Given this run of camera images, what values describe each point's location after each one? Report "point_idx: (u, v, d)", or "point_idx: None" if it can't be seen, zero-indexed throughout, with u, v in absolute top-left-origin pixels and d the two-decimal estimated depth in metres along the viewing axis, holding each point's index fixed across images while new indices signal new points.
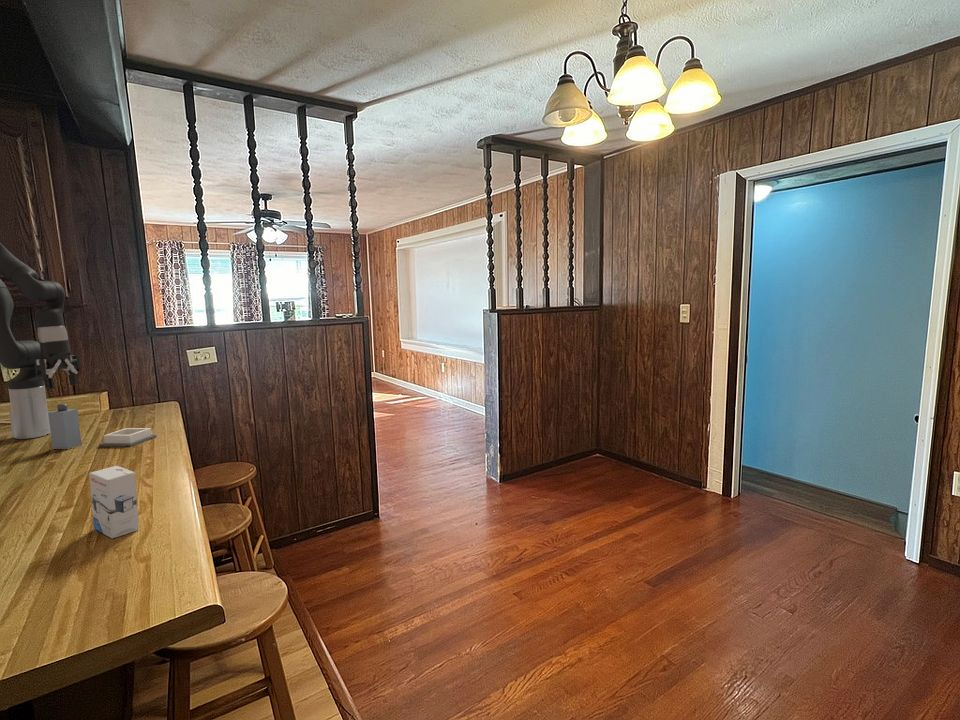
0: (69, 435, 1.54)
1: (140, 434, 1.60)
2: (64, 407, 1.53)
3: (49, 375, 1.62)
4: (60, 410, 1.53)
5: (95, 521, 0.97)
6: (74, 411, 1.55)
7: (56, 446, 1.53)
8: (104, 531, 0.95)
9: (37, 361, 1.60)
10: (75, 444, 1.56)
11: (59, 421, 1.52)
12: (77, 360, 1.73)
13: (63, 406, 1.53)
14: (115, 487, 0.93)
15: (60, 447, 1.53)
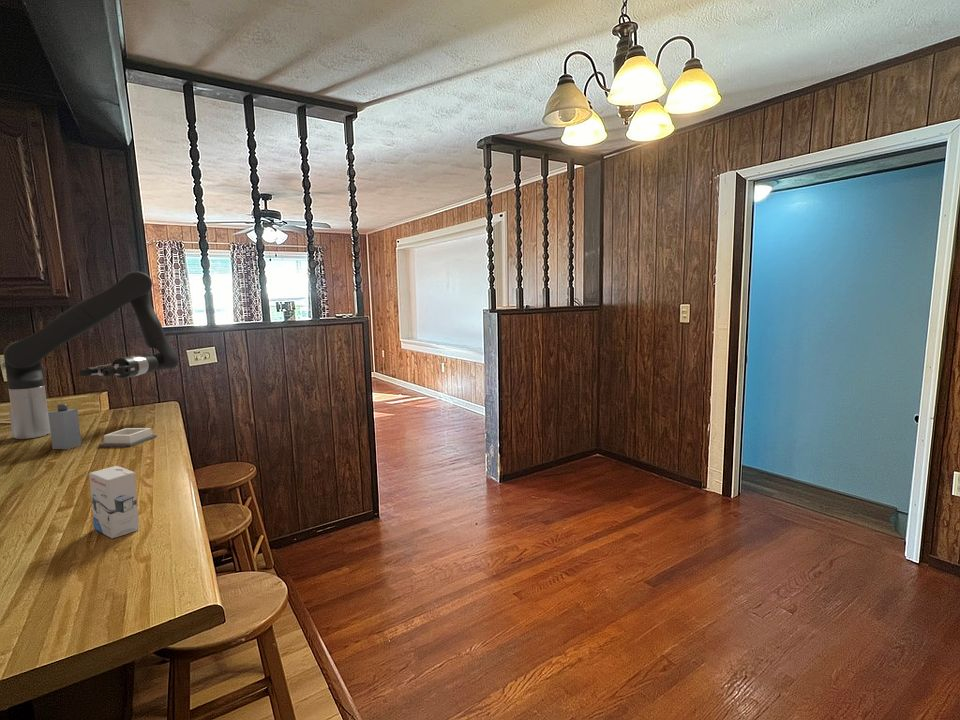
0: (69, 435, 1.54)
1: (140, 434, 1.60)
2: (64, 407, 1.53)
3: None
4: (60, 410, 1.53)
5: (95, 521, 0.97)
6: (74, 411, 1.55)
7: (56, 446, 1.53)
8: (104, 531, 0.95)
9: (134, 368, 1.74)
10: (75, 444, 1.56)
11: (59, 421, 1.52)
12: None
13: (63, 406, 1.53)
14: (115, 487, 0.93)
15: (60, 447, 1.53)
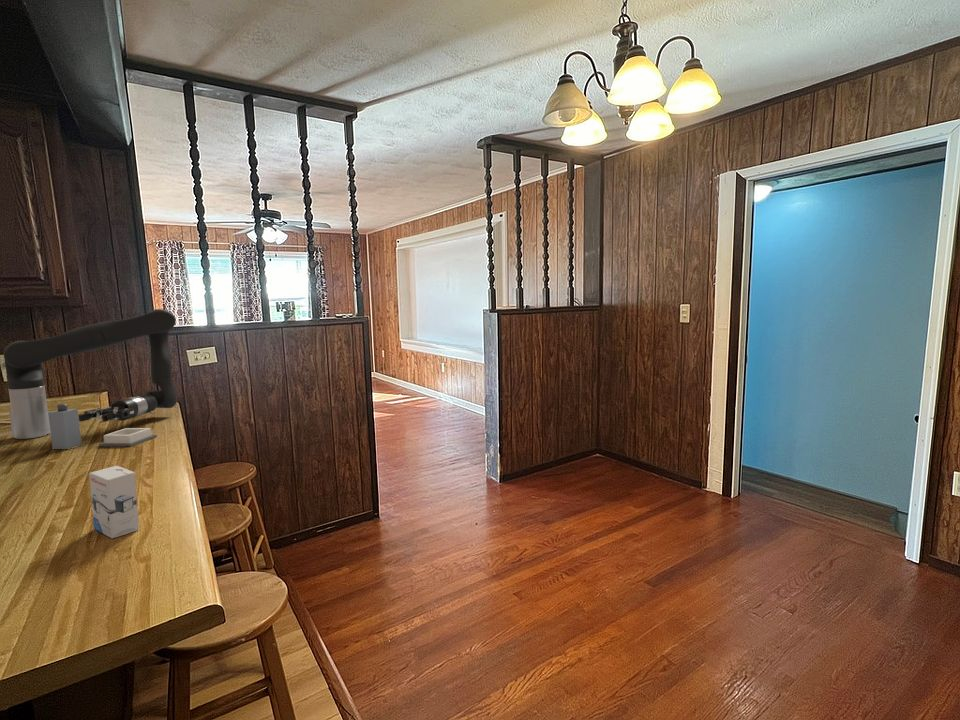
0: (69, 435, 1.54)
1: (140, 434, 1.60)
2: (64, 407, 1.53)
3: None
4: (60, 410, 1.53)
5: (95, 521, 0.97)
6: (74, 411, 1.55)
7: (56, 446, 1.53)
8: (104, 531, 0.95)
9: (133, 411, 1.73)
10: (75, 444, 1.56)
11: (59, 421, 1.52)
12: None
13: (63, 406, 1.53)
14: (115, 487, 0.93)
15: (60, 447, 1.53)
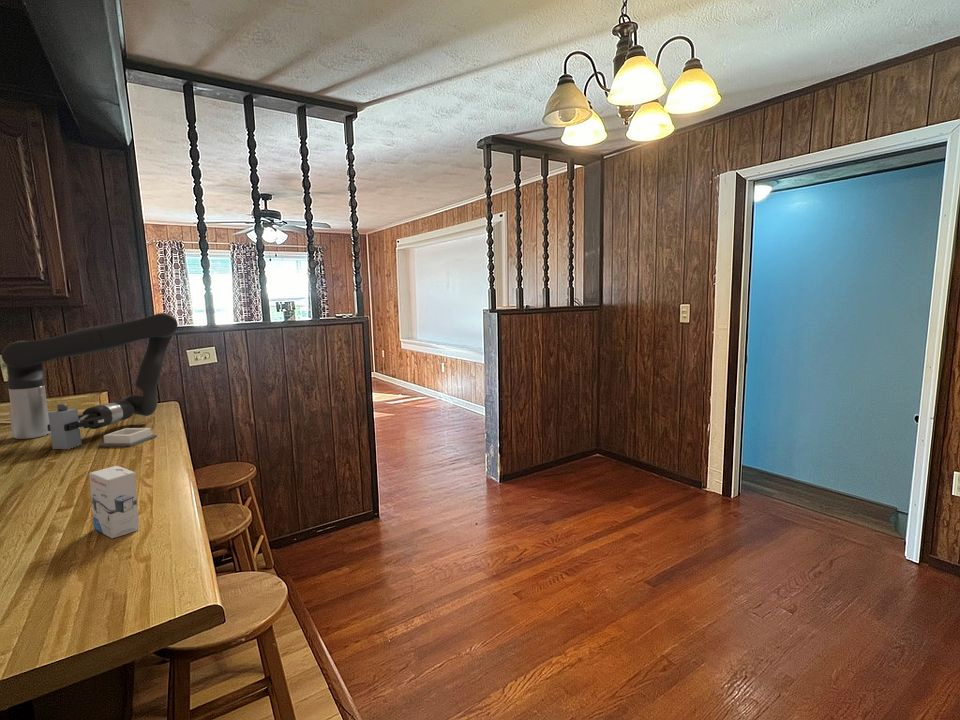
0: (69, 435, 1.54)
1: (140, 434, 1.60)
2: (64, 407, 1.53)
3: (81, 427, 1.57)
4: (60, 410, 1.53)
5: (95, 521, 0.97)
6: (74, 411, 1.55)
7: (56, 446, 1.53)
8: (104, 531, 0.95)
9: (102, 420, 1.61)
10: (75, 444, 1.56)
11: (59, 421, 1.52)
12: None
13: (63, 406, 1.53)
14: (115, 487, 0.93)
15: (60, 447, 1.53)
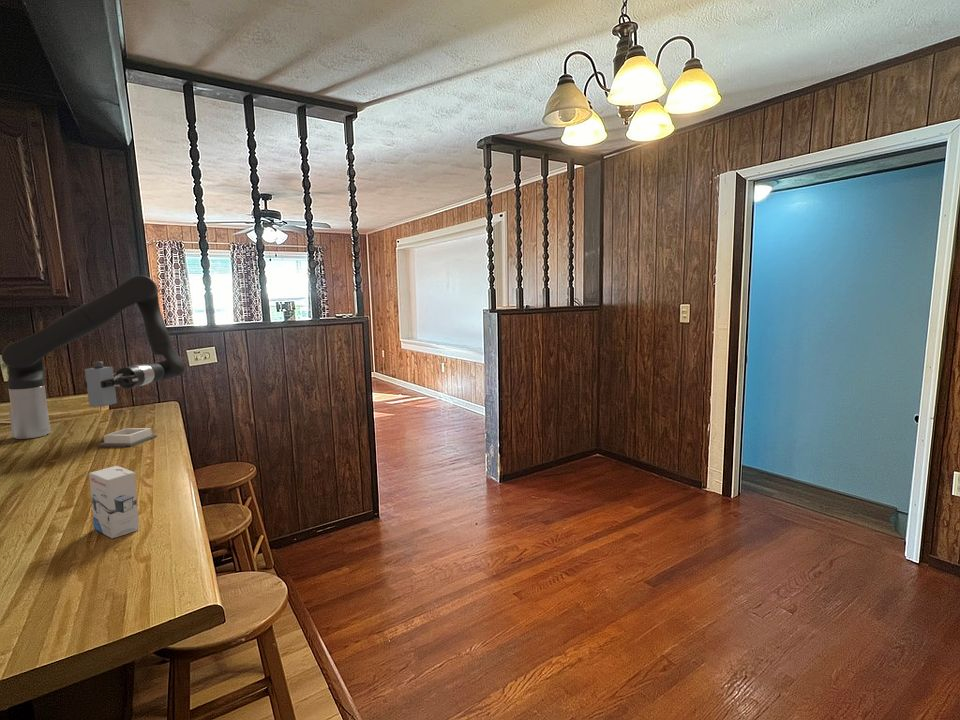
0: (106, 392, 1.56)
1: (140, 434, 1.60)
2: (100, 364, 1.56)
3: (116, 385, 1.59)
4: (96, 367, 1.55)
5: (95, 521, 0.97)
6: (110, 369, 1.58)
7: (93, 403, 1.55)
8: (104, 531, 0.95)
9: (136, 379, 1.63)
10: (111, 401, 1.58)
11: (96, 378, 1.54)
12: None
13: (99, 363, 1.55)
14: (115, 487, 0.93)
15: (97, 404, 1.55)
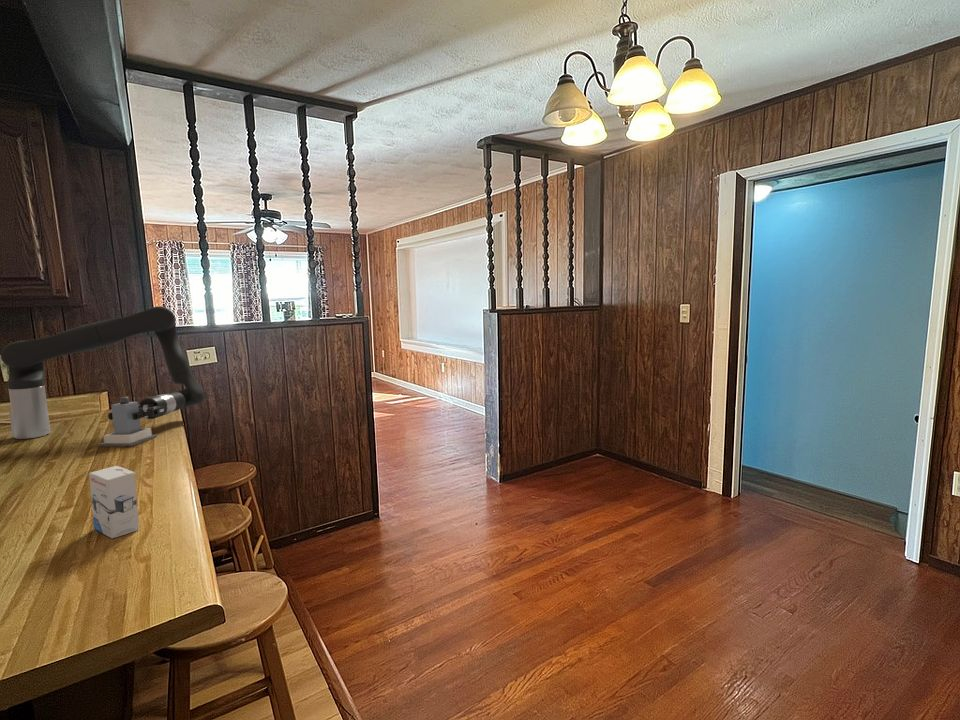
0: (131, 427, 1.59)
1: (140, 434, 1.60)
2: (126, 399, 1.59)
3: None
4: (122, 403, 1.58)
5: (95, 521, 0.97)
6: (135, 404, 1.61)
7: None
8: (104, 531, 0.95)
9: (162, 409, 1.67)
10: None
11: (122, 413, 1.57)
12: None
13: (125, 399, 1.59)
14: (115, 487, 0.93)
15: None
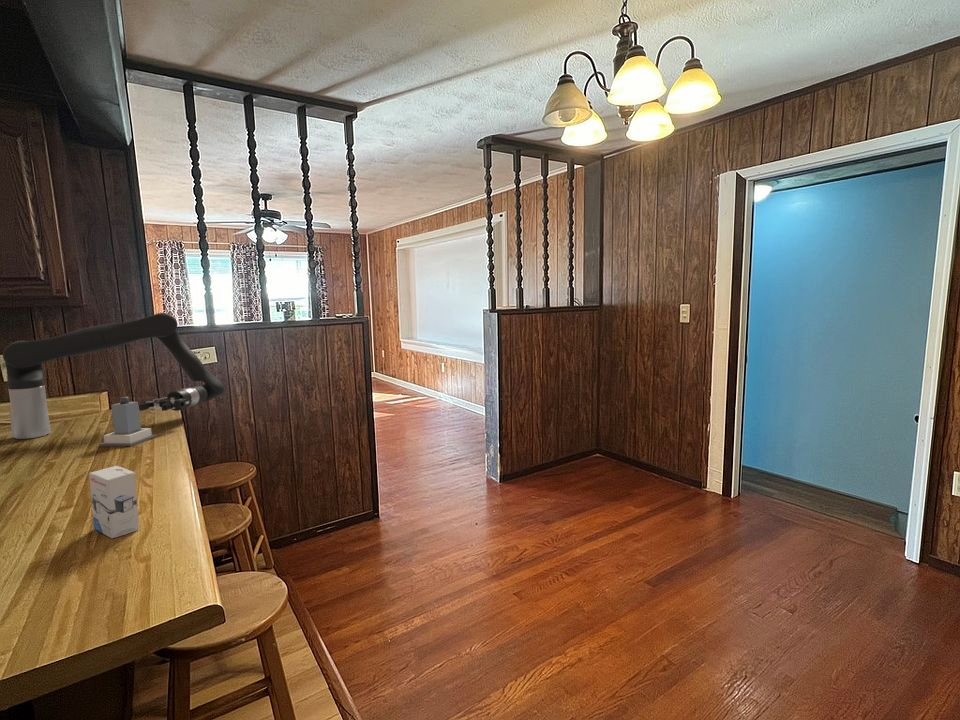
0: (131, 427, 1.59)
1: (140, 434, 1.60)
2: (126, 399, 1.59)
3: None
4: (122, 403, 1.58)
5: (95, 521, 0.97)
6: (135, 404, 1.61)
7: None
8: (104, 531, 0.95)
9: (188, 401, 1.80)
10: None
11: (122, 413, 1.57)
12: (153, 406, 1.80)
13: (125, 399, 1.59)
14: (115, 487, 0.93)
15: None
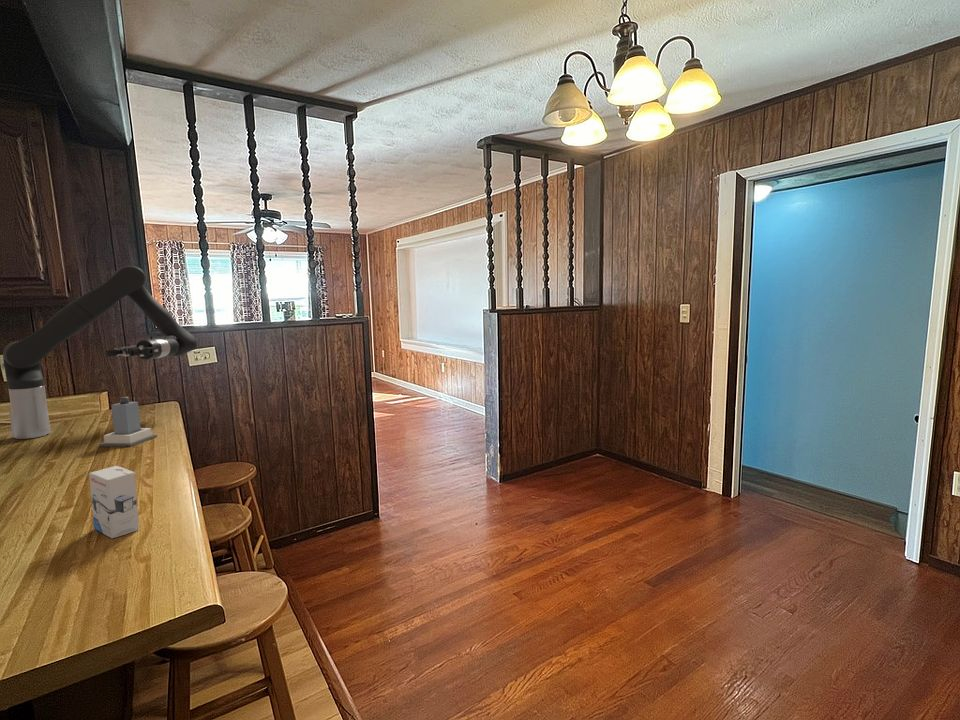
0: (131, 427, 1.59)
1: (140, 434, 1.60)
2: (126, 399, 1.59)
3: (142, 355, 1.75)
4: (122, 403, 1.58)
5: (95, 521, 0.97)
6: (135, 404, 1.61)
7: None
8: (104, 531, 0.95)
9: (157, 350, 1.80)
10: None
11: (122, 413, 1.57)
12: (122, 354, 1.80)
13: (125, 399, 1.59)
14: (115, 487, 0.93)
15: None
